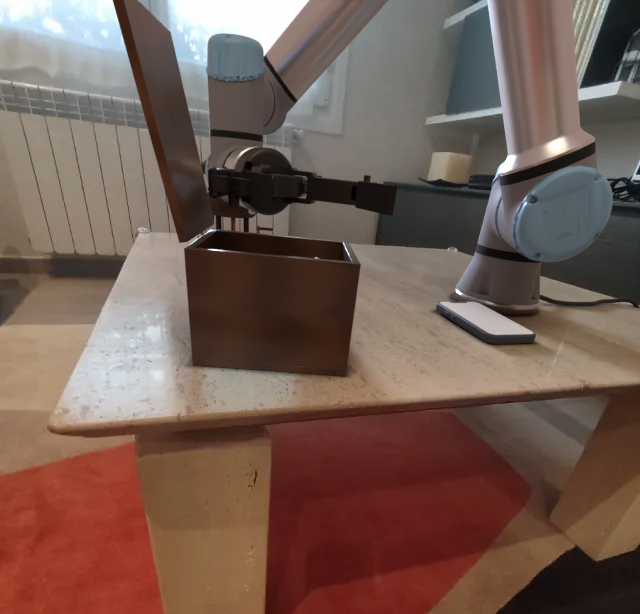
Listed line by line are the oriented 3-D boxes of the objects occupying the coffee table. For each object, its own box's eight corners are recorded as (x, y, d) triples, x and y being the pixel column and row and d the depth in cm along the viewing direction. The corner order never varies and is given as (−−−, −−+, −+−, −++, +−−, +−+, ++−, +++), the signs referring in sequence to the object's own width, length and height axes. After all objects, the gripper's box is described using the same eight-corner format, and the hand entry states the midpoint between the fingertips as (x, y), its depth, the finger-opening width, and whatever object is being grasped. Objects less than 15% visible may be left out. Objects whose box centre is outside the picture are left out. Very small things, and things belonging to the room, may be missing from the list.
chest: (337, 334, 58) (348, 241, 52) (345, 376, 46) (360, 264, 40) (215, 324, 57) (211, 228, 50) (192, 365, 45) (183, 247, 39)
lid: (170, 31, 41) (162, 32, 41) (118, -21, 30) (107, -19, 30) (214, 224, 50) (208, 225, 50) (187, 242, 39) (179, 243, 39)
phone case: (537, 345, 62) (474, 310, 75) (541, 335, 62) (477, 301, 74) (487, 346, 60) (431, 310, 72) (490, 336, 59) (433, 300, 72)
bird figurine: (195, 281, 74) (185, 146, 65) (191, 272, 84) (183, 153, 74) (279, 282, 79) (281, 157, 70) (267, 274, 88) (268, 161, 79)
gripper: (337, 215, 63) (427, 240, 48) (164, 207, 53) (206, 236, 37) (343, 157, 59) (443, 162, 44) (157, 135, 49) (201, 133, 33)
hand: (334, 196), depth 40 cm, fingers open, 13 cm apart
